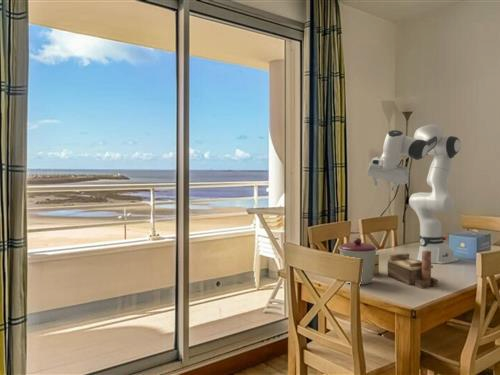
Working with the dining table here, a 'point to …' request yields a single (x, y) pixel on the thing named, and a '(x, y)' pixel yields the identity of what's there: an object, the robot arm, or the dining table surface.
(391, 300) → the dining table surface
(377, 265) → the puzzle cube
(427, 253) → the reddish brown cylinder
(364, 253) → the canister
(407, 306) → the dining table surface
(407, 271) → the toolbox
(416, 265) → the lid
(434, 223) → the robot arm
